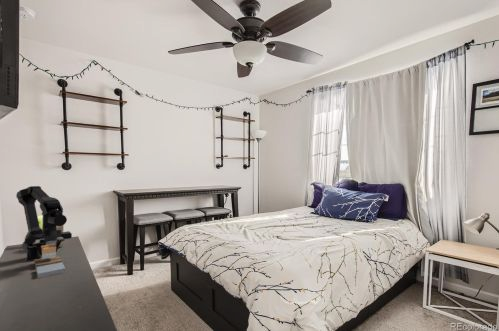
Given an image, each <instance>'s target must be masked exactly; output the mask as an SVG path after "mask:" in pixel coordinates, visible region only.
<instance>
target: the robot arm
mask: <svg viewBox="0 0 499 331" xmlns="http://www.w3.org/2000/svg"><path fill="white" fill-rule="evenodd" d="M15 196H16V199H17V201H18V204H20V205H22V206H23V210H24V215H25V221H26V225H27V230H28V231H27V233H26V235H25V237H24V240H23V243H22V244H21V248H22V250H25V251H26V257H25V258H24V259H25V260H24V261H25V262H31V261H35V259H41V255H42V251H41V246H44V245H45V244H46V242H48V241H55V240H56V253H57V252H58V249H59V248H58V247H59V245H60V244H61V242H62V241H63V242H64V241H65V240H69V239H72V237H73V236H72V235H73V234H72V232H71V231H68V230H67V231H63V232H62V233H61V230H56V226H63V227H64V225H66V223H67V221H68V219H67V217H66V215H64V208H63V206H62V204H61V201H60V200H59V199H57V198H56V197H51V196H50V195H48V194H47V193H46V192H45V191H44V190H43V189H42V187H41V186H40V185H34V186H32V185H31V186H28V187H26V188H23V189H20V190H19V191H17V192H16V195H15ZM36 202H38V203H39V208H40V210H41V215H43V223H42V224H43V225H42V229H41V228H40V227H39V222H38V217H37V216H38V214H37V213H38V212H37V209H36Z"/></svg>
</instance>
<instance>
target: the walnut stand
mask: <svg viewBox="0 0 499 331" xmlns="http://www.w3.org/2000/svg"><path fill="white" fill-rule="evenodd" d="M61 262H62V259H61V257H60V255H56V257H52V258H47V259H42V258H41V259H35V260H34V268H35V269H36V267H40V266H45V265H50V264H56V263H61Z"/></svg>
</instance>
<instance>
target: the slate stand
mask: <svg viewBox="0 0 499 331" xmlns="http://www.w3.org/2000/svg"><path fill="white" fill-rule="evenodd" d="M64 273H65V274H66V267H65V265H64V262H62V261H61V263H56V264H50V265H45V266H40V267H36V268H35V274H36V277H37V279H41V278H45V277H50V276H54V275H55V276H56V275H59V274H64Z"/></svg>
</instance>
